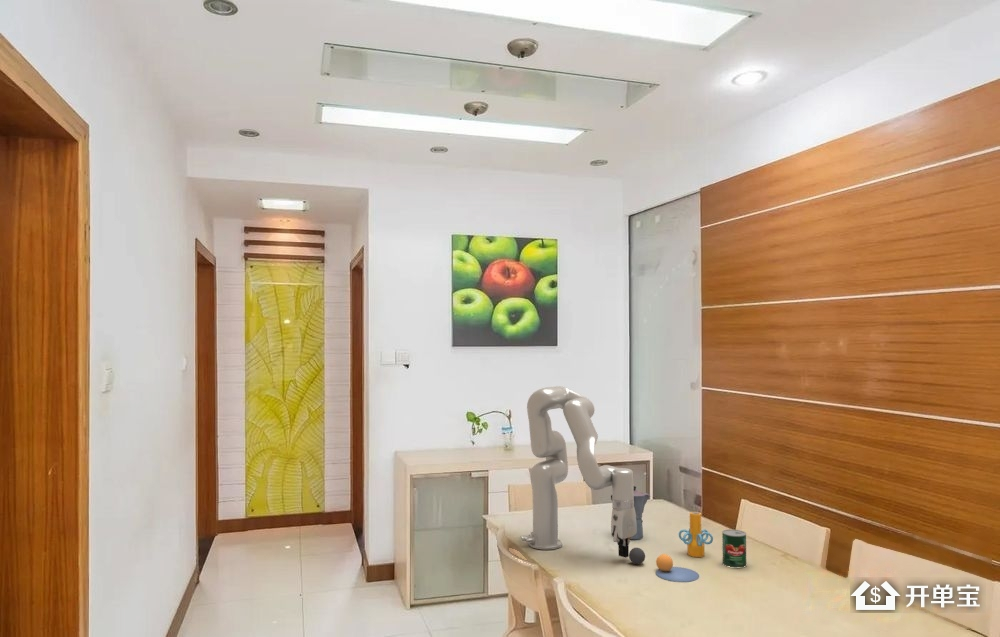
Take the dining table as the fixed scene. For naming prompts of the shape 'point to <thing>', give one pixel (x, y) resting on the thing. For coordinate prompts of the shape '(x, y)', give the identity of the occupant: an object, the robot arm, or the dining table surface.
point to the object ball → (664, 562)
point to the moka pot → (639, 511)
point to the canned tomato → (734, 548)
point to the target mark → (678, 574)
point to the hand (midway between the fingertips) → (623, 556)
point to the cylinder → (695, 536)
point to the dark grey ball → (637, 555)
